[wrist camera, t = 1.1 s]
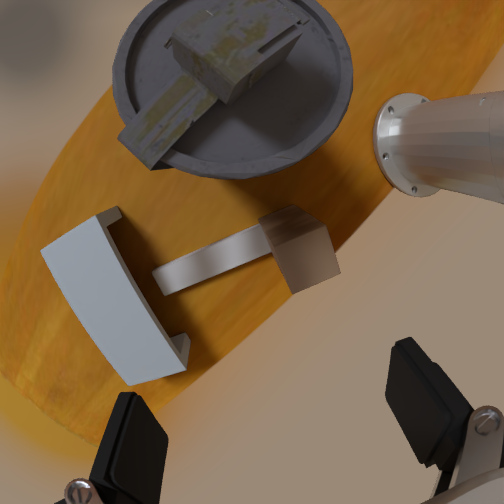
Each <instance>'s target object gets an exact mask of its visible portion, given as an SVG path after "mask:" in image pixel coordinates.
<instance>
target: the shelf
mask: <svg viewBox="0 0 504 504" xmlns="http://www.w3.org/2000/svg"><path fill="white" fill-rule="evenodd" d="M120 218H122V215H121V213H120V211H119V209H118V207H117V206H115V207H112V208H110V209H108V210H106V211H104V212H101V213H99V214H97V215H95V216H93V217H92V218H90V219H88V220H87V221H85V222H83V223H82V224H80V225H79V226H77V227H75V228H74V229H72V230H71V231H69V232H67V233H66V234H64V235H63V236H61V237H60V238H58V239H57V240H55V241H54V242H52V243H51V244H49V245H48V246H46V247H45V248H43V249H42V250H40V251H41V253H42V255H43V257H44V259H45V261H46V263H47V265H48V267H49V269H50V271H51V273H52V275H53V277H54V278H55V280H56V282H57V284H58V286H59V287H60V289H61V291H62V293H63V294H64V296H65V298H66V299H67V301H68V303H69V304H70V306H71V308H72V309H73V311H74V312H75V314H76V315H77V317H78V319H79V320H80V322H81V323H82V325H83V326H84V328H85V329H86V331H87V332H88V334H89V335H90V336H91V338H92V339H93V341H94V342H95V344H96V345H97V346H98V348H99V349H100V350H101V352H102V353H103V354H104V356H105V357H106V358H107V360H108V361H109V362H110V364H111V365H112V366H113V368H114V369H115V370H116V371H117V373H118V374H119V375H120V376H121V377H122V379H123V380H124V381H125V382H126V383H127V385H128V386H131V385H135V384H139V383H143V382H146V381H150V380H154V379H157V378H161V377H165V376H168V375H172V374H175V373H178V372H182V371H185V370H187V363H188V356H189V350H190V344H191V340H190V339H189V337H188V336H187V334H186V332H185V333H182V334H179V335H176V336H174V337H171V338H169V337H168V335H167V333H166V332H165V330H164V329H163V327H162V326H161V324H160V323H159V321H158V319H157V318H156V316H155V315H154V313H153V311H152V310H151V308H150V306H149V305H148V303H147V301H146V300H145V298H144V296H143V295H142V293H141V291H140V289H139V288H138V286H137V284H136V282H135V281H134V279H133V277H132V275H131V273H130V272H129V270H128V268H127V266H126V264H125V262H124V261H123V259H122V257H121V255H120V253H119V251H118V249H117V247H116V245H115V243H114V241H113V239H112V237H111V235H110V233H109V231H108V229H107V226H108V225H110V224H112V223H113V222H115V221H117V220H118V219H120Z"/></svg>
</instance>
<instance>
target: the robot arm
mask: <svg viewBox="0 0 504 504" xmlns="http://www.w3.org/2000/svg"><path fill="white" fill-rule="evenodd" d="M373 143H374V151H375V155H376V158H377V162H378V164H379V166H380V168H381V171H382V172H383V174H384V175H385V177H386V179H387V180H388V181H389V182H390V183H391V184H392V185H393V186H394V187H395V188H396V189H398V190H399V191H401V192H403V193H405V194H407V195H411V196H414V197H426V196H430V195H432V194H434V193H436V192H437V191H439V190H440V189H445V190H450V191H454V192H458V193H463V194H467V195H471V196H475V197H479V198H483V199H486V200H491V201H494V202H498V203H501V204H504V91H496V92H487V93H479V94H472V95H465V96H458V97H452V98H446V99H440V100H435V101H430V100H429V99H427V98H426V97H423V96H421V95H419V94H414V93H404V94H400V95H397V96H394V97H393V98H391V99H389V100H388V101H387V102H386V103H385V104H383V106H382V107H381V109H380V110H379V112H378V115H377V117H376V120H375V124H374V129H373ZM385 396H386V400H387V402H388V404H389V406H390V408H391V410H392V412H393V413H394V415H395V417H396V419H397V421H398V423H399V425H400V427H401V428H402V430H403V432H404V434H405V436H406V438H407V440H408V442H409V444H410V446H411V448H412V449H413V451H414V453H415V455H416V457H417V459H418V461H419V463H421V464H423V463H424V464H425V466H426V468H428V467H430V466H431V465H433V464H436V465H437V467H438V469H439V470H440V471H439V474H438V477H437V480H436V483H435V486H434V488H433V491H432V494H431V496H430V499H429V500H427V501H425V502H423V503H421V504H504V416H503V414H502V412H501V411H500V410H499V409H497V408H496V407H493V406H482V407H480V408H478V409H476V410H474V409H473V408H472V406H471V405H470V404H469V402H468V401H467V400H466V399H465V397H464V396H463V395H462V393H461V392H460V391H459V390H458V388H457V387H456V386H455V384H454V383H453V382H452V381H451V379H450V378H449V377H448V376H447V375H446V373H445V372H444V371H443V370H442V368H441V367H440V366H439V365H438V364H437V363H435V362H432V361H431V359H430V358H429V357H428V356H427V355H426V353H425V352H424V351H423V350H422V349H421V348H420V346H419V345H418V344H417V343H416V342H415V340H414V339H413V338H412V337H408V338H405V339H402V340H399V341H397V342H396V343H395V346H394V347H392V349H391V357H390V365H389V372H388V379H387V385H386V391H385ZM167 448H168V436H167V434H166V433H165V431H164V430H163V428H162V427H161V425H160V424H159V423H158V421H157V420H156V419H155V417H154V415H153V414H152V412H151V411H150V409H149V408H148V406H147V405H146V403H145V402H144V400H143V398H142V397H141V396H140V395H137V393H135V392H121V393H119V395H118V398H117V400H116V403H115V405H114V408H113V411H112V413H111V416H110V418H109V421H108V424H107V426H106V429H105V432H104V435H103V438H102V440H101V443H100V446H99V449H98V452H97V455H96V458H95V461H94V464H93V467H92V470H91V473H90V476H89V480H87V479H84V478H77V479H74V480H72V481H71V482H69V483H68V485H67V486H66V488H65V491H64V497H65V499H62V500H60V501H58V502H56V503H54V504H159V501H160V493H161V486H162V479H163V472H164V466H165V459H166V454H167Z"/></svg>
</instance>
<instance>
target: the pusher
mask: <svg viewBox="0 0 504 504" xmlns="http://www.w3.org/2000/svg"><path fill="white" fill-rule="evenodd" d="M258 220H259V224H257V225H255V226H252V227H250V228H248V229H245V230H243V231H240V232H238V233H236V234H233V235H231V236H229V237H226V238H224V239H222V240H219V241H217V242H215V243H212V244H210V245H208V246H205V247H203V248H201V249H198V250H196V251H194V252H192V253H189V254H187V255H185V256H182V257H180V258H178V259H176V260H173V261H171V262H169V263H167V264H164V265H162V266H160V267H158V268H155V269H153V271H152V275H153V277H154V278H155V280H156V282H157V284H158V286H159V287H160V289H161V291H162V293H163V294H164V296H166V295H169V294H171V293H173V292H176V291H178V290H181V289H183V288H186V287H188V286H191V285H193V284H195V283H198V282H200V281H203V280H205V279H207V278H210V277H212V276H215V275H217V274H220V273H222V272H224V271H227V270H229V269H232V268H234V267H236V266H239V265H241V264H244V263H246V262H248V261H251V260H253V259H256V258H258V257H260V256H263V255H265V254H268V253H270V252H272V254H273V256H274V258H275V260H276V262H277V264H278V266H279V268H280V270H281V272H282V274H283V276H284V278H285V280H286V282H287V284H288V286H289V288H290V290H291V292H292V294H295V293H297V292H299V291H302V290H304V289H306V288H309V287H311V286H313V285H316V284H318V283H320V282H322V281H325V280H327V279H329V278H331V277H334V276H336V275H338V274H340V273H341V272H340V269H339V265H338V262H337V259H336V255H335V252H334V249H333V246H332V242H331V239H330V236H329V233H328V230H327V227H326V225H325V224H323V223H322V222H320V221H319V220H317V219H316V218H314V217H313V216H311V215H310V214H308V213H307V212H305V211H303V210H302V209H300V208H299V207H297V206H296V205H294V204H293V205H291V206H288V207H286V208H283V209H281V210H278V211H276V212H274V213H271V214H269V215H266V216H264V217H262V218H259V219H258Z"/></svg>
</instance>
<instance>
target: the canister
mask: <svg viewBox="0 0 504 504" xmlns="http://www.w3.org/2000/svg"><path fill="white" fill-rule="evenodd" d="M112 71H113V72H112V73H113V96H114V99H115V103H116V106H117V109H118V112H119V115H120V117H121V118H122V120H123V122H124V123H125V125H126V127H125V128H124V129H123V130H122V131H121V133H120V134H119V135H118V140H119V141H120V142H121V143H122V144H123V145H124V146H125V147H126V148H127V149H128V150H129V151H130V152H132V153H133V154H134V155H135V156H136V157H137V158H138V159H139V160H140V161H141V162H142V163H143V164H144V165H145V166H146V167H147V168H148V169H149V170H150V171H152V170H160V169H169V168H176V169H178V170H181V171H184V172H187V173H190V174H193V175H197V176H201V177H208V178H216V179H248V178H253V177H259V176H263V175H268V174H272V173H276V172H278V171H281V170H283V169H285V168H287V167H290V166H292V165H294V164H296V163H297V162H299V161H300V160H302V159H304V158H305V157H307V156H309V155H310V154H312V153H313V152H314V151H315V150H317V149H318V148H319V147H320V146H322V145H323V144H324V143H325V142H327V140H328V139H329V138H330V136H331V135H332V134H333V133H334V131H335V130H336V129H337V127H338V126H339V124H340V122H341V120H342V119H343V117H344V115H345V113H346V111H347V108H348V105H349V102H350V98H351V95H352V91H353V66H352V60H351V53H350V48H349V46H348V44H347V41H346V39H345V37H344V35H343V33H342V31H341V29H340V27H339V26H338V24H337V23H336V22H335V20H334V19H333V18H332V16H331V15H330V14H329V13H328V12H327V11H326V10H325V9H324V8H323V7H322V6H321V5H320V4H319V3H318V2H317V1H316V0H153V1H152V2H150V3H149V4H148V5H147V6H145V7H144V8H143V9H142V10H141V11H140V12H139V13H138V15H137V16H136V17H135V18H134V20H133V21H132V22H131V24H130V25H129V27H128V28H127V30H126V32H125V33H124V35H123V37H122V39H121V40H120V43H119V46H118V49H117V53H116V56H115V60H114V63H113V68H112Z"/></svg>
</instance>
